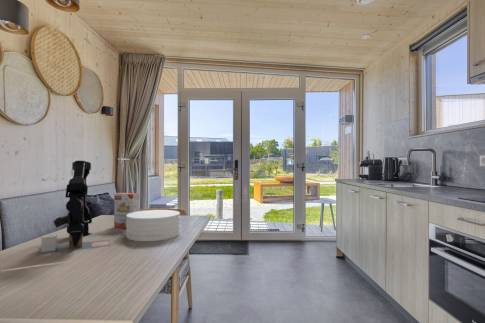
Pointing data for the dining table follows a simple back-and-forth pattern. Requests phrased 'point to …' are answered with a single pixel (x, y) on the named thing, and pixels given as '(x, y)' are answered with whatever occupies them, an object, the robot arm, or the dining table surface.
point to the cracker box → (124, 207)
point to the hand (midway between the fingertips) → (75, 243)
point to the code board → (84, 246)
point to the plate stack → (152, 225)
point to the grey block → (49, 243)
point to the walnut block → (73, 244)
